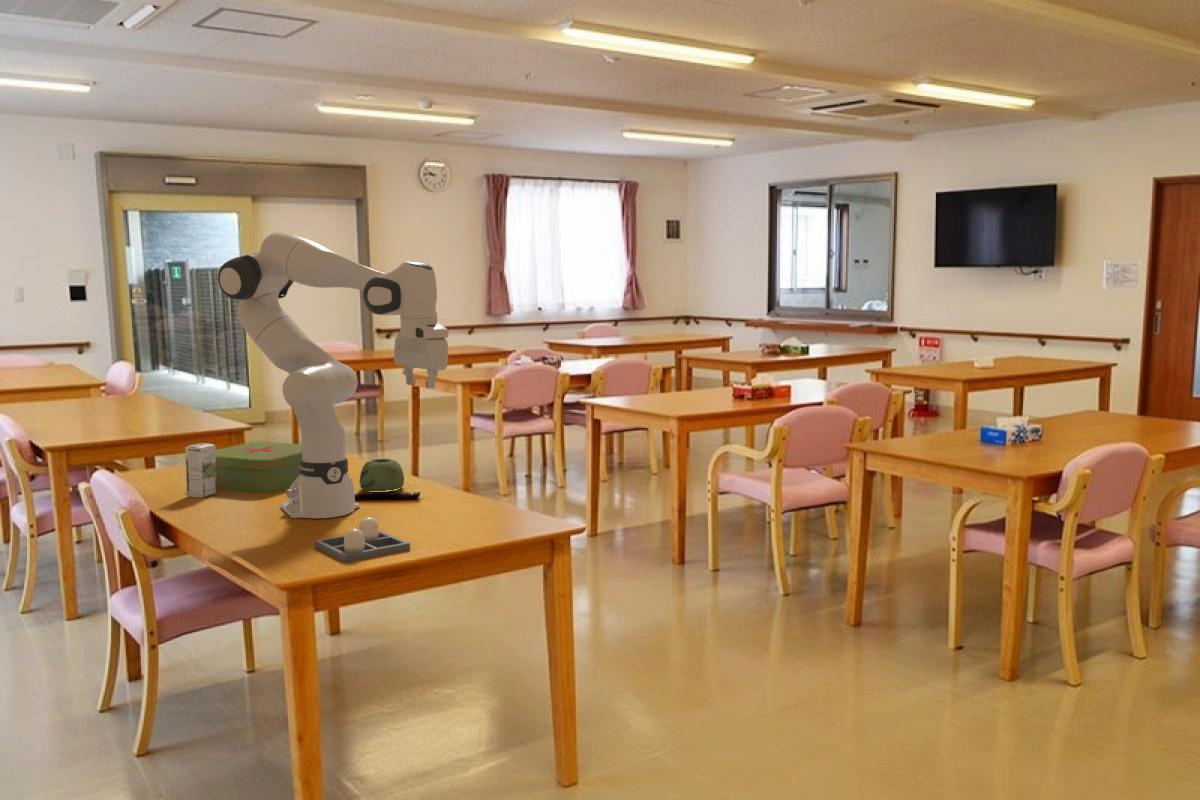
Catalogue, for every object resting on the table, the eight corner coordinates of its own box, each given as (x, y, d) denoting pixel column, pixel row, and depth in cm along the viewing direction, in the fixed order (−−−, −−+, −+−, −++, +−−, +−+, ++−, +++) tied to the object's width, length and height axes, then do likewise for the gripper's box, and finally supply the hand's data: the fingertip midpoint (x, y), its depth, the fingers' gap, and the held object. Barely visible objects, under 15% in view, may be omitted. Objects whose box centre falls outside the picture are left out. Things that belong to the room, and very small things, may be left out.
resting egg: (340, 554, 222) (340, 528, 221) (359, 550, 224) (358, 525, 224) (349, 558, 218) (349, 532, 217) (368, 554, 221) (367, 529, 220)
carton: (314, 551, 227) (314, 540, 227) (377, 539, 237) (377, 529, 237) (345, 566, 216) (345, 555, 215) (410, 553, 225) (409, 543, 225)
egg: (356, 541, 232) (355, 517, 231) (374, 538, 235) (373, 514, 234) (364, 545, 228) (363, 520, 228) (382, 542, 231) (381, 517, 230)
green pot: (350, 489, 293) (349, 460, 292) (389, 483, 302) (388, 454, 300) (380, 498, 281) (380, 467, 280) (419, 491, 290) (418, 461, 289)
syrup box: (201, 492, 288) (198, 442, 287) (218, 494, 287) (215, 443, 285) (186, 496, 283) (184, 445, 281) (203, 498, 281) (201, 447, 279)
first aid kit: (269, 495, 286) (267, 460, 285) (196, 488, 295) (194, 454, 294) (325, 477, 310) (324, 446, 309) (256, 471, 320) (255, 440, 318)
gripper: (386, 328, 249) (388, 383, 250) (428, 331, 233) (430, 391, 235) (409, 327, 253) (410, 382, 254) (452, 330, 237) (453, 389, 239)
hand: (420, 386), depth 244 cm, fingers open, 8 cm apart
